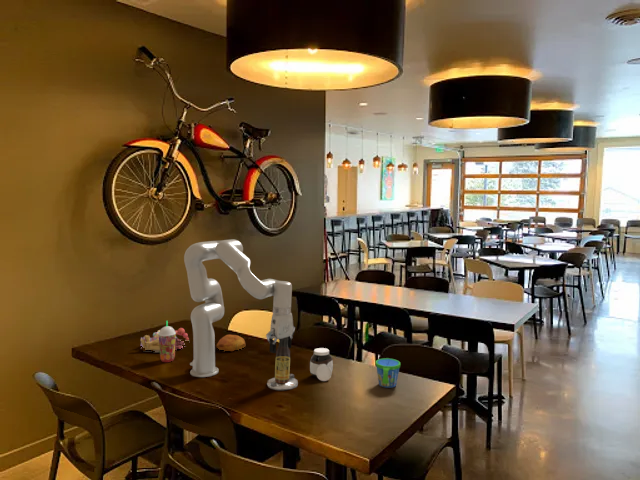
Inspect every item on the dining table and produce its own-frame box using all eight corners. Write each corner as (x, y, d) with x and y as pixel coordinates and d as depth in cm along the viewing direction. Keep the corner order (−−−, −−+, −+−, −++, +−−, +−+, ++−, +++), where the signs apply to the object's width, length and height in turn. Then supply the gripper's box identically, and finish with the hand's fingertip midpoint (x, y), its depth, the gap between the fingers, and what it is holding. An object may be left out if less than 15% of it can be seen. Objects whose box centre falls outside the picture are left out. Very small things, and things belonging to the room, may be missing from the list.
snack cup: (395, 393, 194) (396, 369, 193) (370, 390, 198) (371, 366, 197) (403, 380, 209) (404, 358, 208) (380, 377, 213) (380, 355, 212)
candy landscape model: (179, 354, 246) (178, 336, 245) (133, 354, 246) (133, 336, 245) (192, 340, 271) (192, 324, 270) (150, 340, 271) (150, 324, 270)
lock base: (260, 385, 202) (260, 379, 202) (281, 376, 213) (281, 371, 213) (283, 393, 194) (283, 386, 194) (304, 383, 205) (304, 377, 205)
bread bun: (230, 346, 266) (229, 332, 266) (250, 347, 257) (249, 333, 257) (210, 352, 254) (209, 337, 255) (230, 353, 245) (229, 338, 245)
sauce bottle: (274, 384, 200) (274, 338, 199) (274, 379, 207) (274, 334, 205) (290, 384, 201) (290, 338, 200) (290, 378, 207) (290, 334, 206)
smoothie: (155, 362, 232) (154, 321, 231) (166, 357, 240) (165, 318, 239) (168, 364, 229) (168, 323, 228) (180, 359, 237) (179, 319, 236)
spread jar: (323, 370, 221) (323, 346, 220) (341, 377, 213) (341, 351, 212) (304, 377, 213) (304, 351, 212) (322, 383, 205) (322, 357, 204)
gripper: (274, 315, 192) (273, 356, 194) (301, 308, 206) (300, 347, 208) (261, 312, 197) (259, 352, 198) (288, 305, 211) (287, 343, 212)
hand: (280, 349), depth 203 cm, fingers open, 9 cm apart
